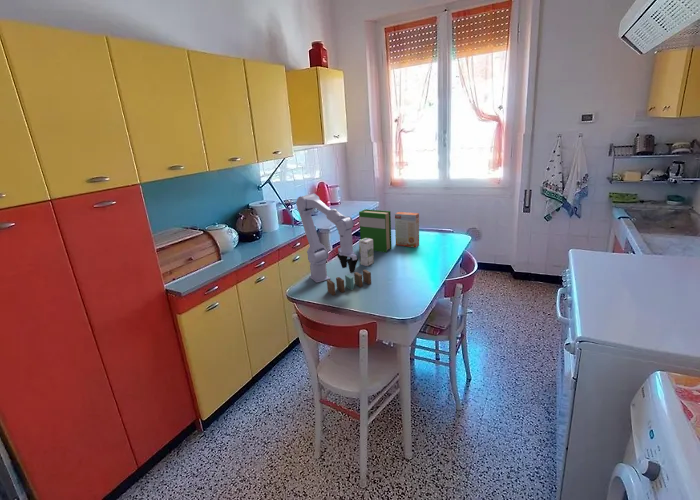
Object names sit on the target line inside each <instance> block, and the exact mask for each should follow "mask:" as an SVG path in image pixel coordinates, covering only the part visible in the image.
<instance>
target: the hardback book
mask: <svg viewBox="0 0 700 500" xmlns="http://www.w3.org/2000/svg"><path fill="white" fill-rule="evenodd" d="M358 215H359V216H358V217H359V220H358V221H359V235H360V240H362V239H364V238H369V239H373V252H378V253H379V252H380V253H387V252H388V250H392V248H393V247H392V244H393V243H392V220H391V219H392V217H391V216H392V215H391V211H390V210H382V209H381V210H379V209H369V208H367V209H366V208H365V209H362V210H361V211H359V212H358Z"/></svg>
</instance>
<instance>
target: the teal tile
mask: <svg viewBox="0 0 700 500" xmlns="http://www.w3.org/2000/svg"><path fill="white" fill-rule="evenodd" d="M344 277H345V278H344V279H345V280H344V281H345V287H346V288H348V289H349V290H351V291H352V290H354V289H355V288H354V285H355V283H354V277H352V276H351V275H349V274H345V275H344Z"/></svg>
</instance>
